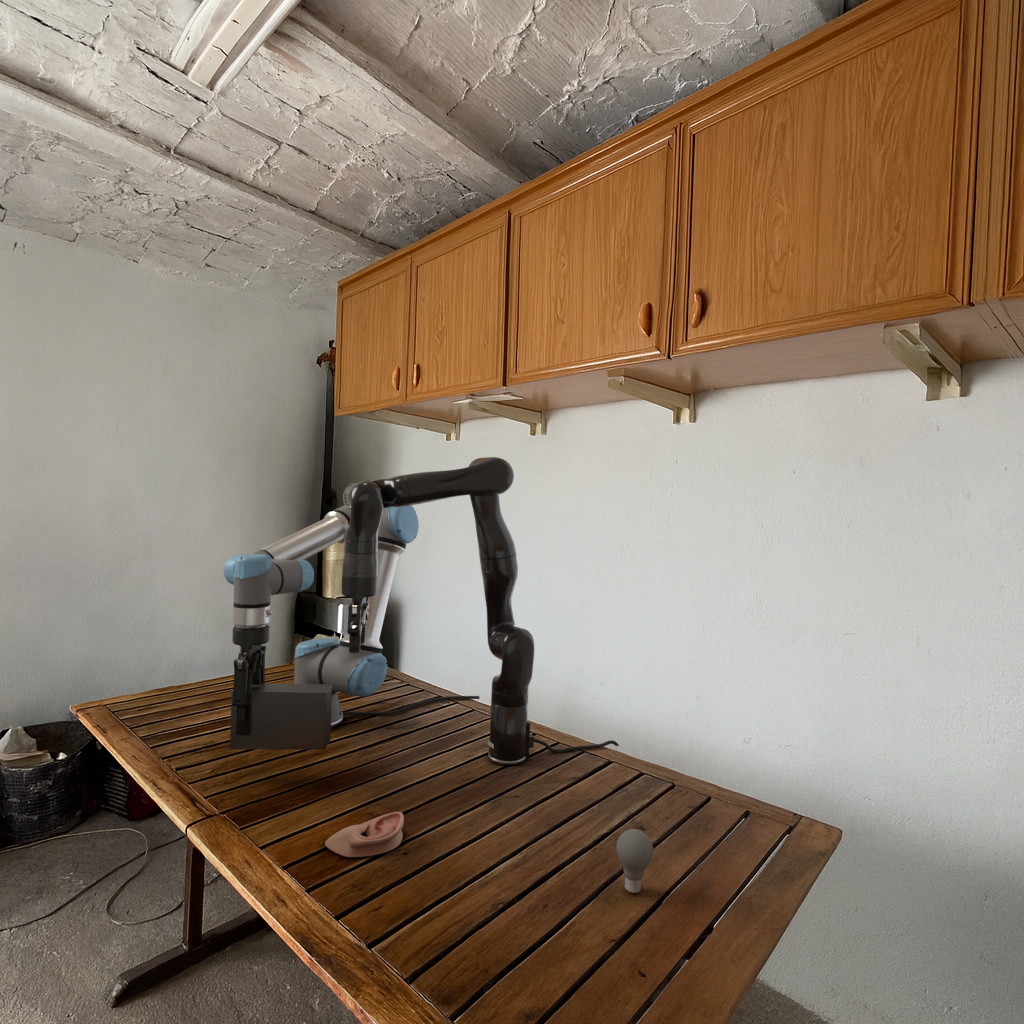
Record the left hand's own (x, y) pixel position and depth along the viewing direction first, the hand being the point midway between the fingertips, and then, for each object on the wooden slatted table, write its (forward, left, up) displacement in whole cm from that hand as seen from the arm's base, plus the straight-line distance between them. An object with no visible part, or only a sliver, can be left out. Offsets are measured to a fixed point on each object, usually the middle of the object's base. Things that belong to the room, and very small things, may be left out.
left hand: (248, 728), depth 140 cm
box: (-5, +5, -3) cm, 8 cm away
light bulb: (-22, +83, -11) cm, 87 cm away
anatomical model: (-2, +39, -11) cm, 41 cm away
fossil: (-60, -53, -11) cm, 81 cm away
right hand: (-13, +20, +20) cm, 31 cm away
